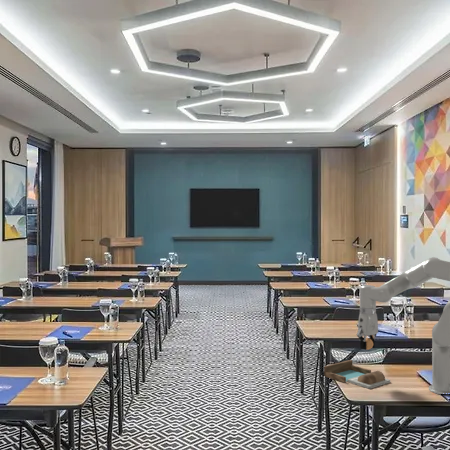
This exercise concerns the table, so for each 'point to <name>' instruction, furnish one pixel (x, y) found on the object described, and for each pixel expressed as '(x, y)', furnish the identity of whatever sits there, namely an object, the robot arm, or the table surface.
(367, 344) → the ball
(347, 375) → the mat
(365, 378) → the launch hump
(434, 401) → the table surface
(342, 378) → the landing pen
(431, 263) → the robot arm
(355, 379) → the grey base plate
